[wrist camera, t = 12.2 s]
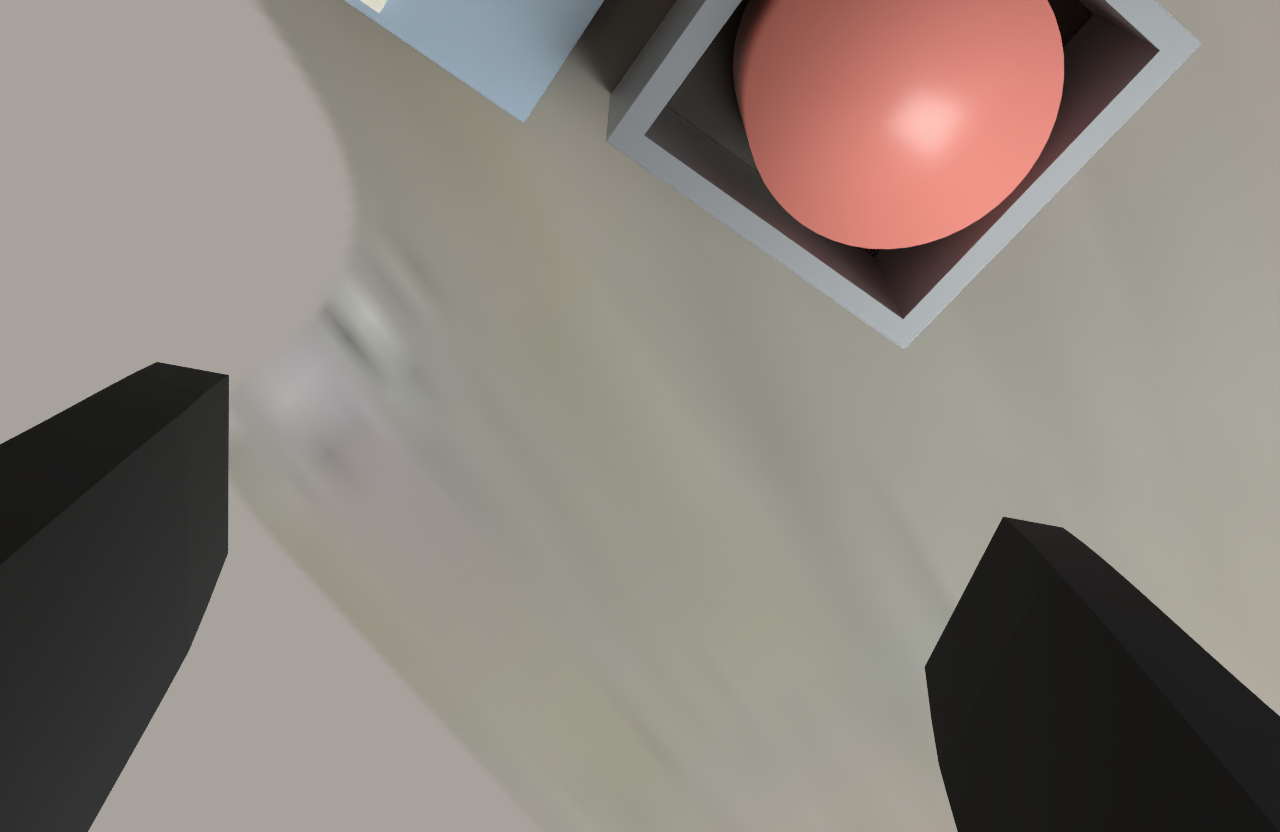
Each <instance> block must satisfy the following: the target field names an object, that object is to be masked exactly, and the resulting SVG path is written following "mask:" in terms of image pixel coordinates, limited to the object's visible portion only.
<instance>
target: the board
mask: <svg viewBox="0 0 1280 832" xmlns="http://www.w3.org/2000/svg"><path fill="white" fill-rule="evenodd" d="M344 1H346V2H347V3H349V4H350V5H352V6H353V7H355V8H356V9H358V10H359V11H361V12H362V13H363V14H365V15H366V16H368V17H369V18H371V19H372V20H374V21H375V22H377V23H378V24H380V25H381V26H383V27H384V28H385V29H387V30H388V31H390V32H391V33H393V34H394V35H396V36H397V37H399V38H400V39H402V40H403V41H404V42H406V43H407V44H409V45H410V46H412V47H413V48H415V49H416V50H418V51H419V52H421V53H422V54H423V55H425V56H426V57H428V58H429V59H431V60H432V61H434V62H435V63H437V64H438V65H440V66H441V67H442V68H444V69H445V70H447V71H448V72H450V73H451V74H453V75H454V76H456V77H457V78H459V79H460V80H461V81H463V82H464V83H466V84H467V85H469V86H470V87H472V88H473V89H475V90H476V91H478V92H479V93H481V94H482V95H483V96H485V97H486V98H488V99H489V100H491V101H492V102H494V103H495V104H497V105H498V106H500V107H501V108H502V109H504V110H505V111H507V112H508V113H510V114H511V115H513V116H514V117H516V118H517V119H519V120H520V121H521V122H523V123H524V122H525V120H526V119H527V117H528V116H529V114H530V113H531V111H532V110H533V108H534V107H535V105H536V103H537V102H538V100H539V99H540V97H541V96H542V94H543V93H544V91H545V90H546V88H547V87H548V85H549V84H550V82H551V81H552V79H553V78H554V76H555V75H556V73H557V71H558V70H559V68H560V67H561V65H562V64H563V62H564V61H565V59H566V58H567V56H568V55H569V53H570V52H571V50H572V49H573V47H574V46H575V44H576V43H577V41H578V39H579V38H580V36H581V35H582V33H583V32H584V30H585V29H586V27H587V26H588V24H589V23H590V21H591V20H592V18H593V17H594V15H595V14H596V12H597V11H598V9H599V7H600V6H601V4H602V3H603V1H604V0H344Z"/></svg>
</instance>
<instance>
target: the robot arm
mask: <svg viewBox="0 0 1280 832" xmlns="http://www.w3.org/2000/svg"><path fill="white" fill-rule="evenodd" d="M228 434H229V375H225V374H219V373H214V372H209V371H203V370H198V369H192V368H187V367H181V366H176V365H170V364H165V363H159V362H156V363H154V364H152V365H150V366H148V367H146V368H144V369H141V370H139V371H137V372H135V373H134V374H132V375H129V376H127V377H126V378H124V379H122V380H120V381H118V382H116V383H114V384H112V385H110V386H109V387H107V388H105V389H103V390H101V391H99V392H97V393H96V394H94V395H92V396H90V397H88V398H86V399H85V400H83V401H81V402H79V403H77V404H75V405H73V406H72V407H70V408H68V409H66V410H65V411H63V412H61V413H59V414H57V415H55V416H53V417H51V418H50V419H48V420H46V421H44V422H42V423H40V424H38V425H36V426H35V427H33V428H31V429H29V430H27V431H25V432H23V433H21V434H19V435H18V436H15V437H14V438H12V439H10V440H8V441H6V442H4V443H2V444H0V832H88V830H89V829H90V827H91V825H92V823H93V822H94V820H95V818H96V816H97V814H98V813H99V811H100V809H101V807H102V806H103V804H104V802H105V800H106V799H107V797H108V795H109V793H110V791H111V790H112V788H113V786H114V784H115V783H116V780H117V779H118V777H119V775H120V773H121V772H122V770H123V768H124V767H125V765H126V763H127V761H128V759H129V758H130V756H131V754H132V752H133V751H134V749H135V747H136V745H137V744H138V742H139V740H140V738H141V736H142V735H143V733H144V731H145V729H146V728H147V726H148V724H149V722H150V720H151V718H152V717H153V715H154V713H155V711H156V709H157V708H158V706H159V704H160V702H161V701H162V699H163V697H164V695H165V693H166V692H167V690H168V688H169V686H170V684H171V683H172V680H173V679H174V677H175V675H176V673H177V672H178V670H179V668H180V666H181V664H182V662H183V660H184V659H185V657H186V655H187V653H188V651H189V649H190V647H191V644H192V642H193V639H194V637H195V635H196V632H197V630H198V627H199V625H200V623H201V620H202V618H203V615H204V613H205V611H206V608H207V606H208V603H209V601H210V598H211V595H212V593H213V590H214V588H215V585H216V582H217V580H218V577H219V575H220V572H221V569H222V567H223V564H224V562H225V559H226V557H227V554H228ZM925 672H926V680H927V688H928V696H929V703H930V711H931V719H932V725H933V731H934V737H935V743H936V749H937V755H938V761H939V766H940V770H941V774H942V777H943V781H944V785H945V788H946V792H947V796H948V799H949V803H950V806H951V810H952V813H953V817H954V820H955V824H956V827H957V831H958V832H1280V716H1279V715H1278V714H1276V713H1275V712H1274V711H1273V710H1272V709H1271V708H1269V707H1268V706H1267V705H1266V704H1265V703H1264V702H1263V701H1261V700H1260V699H1259V698H1258V697H1257V696H1256V695H1255V694H1254V693H1252V692H1251V691H1250V690H1249V689H1248V688H1247V687H1246V686H1244V685H1243V684H1242V683H1241V682H1240V681H1239V680H1238V679H1237V678H1235V677H1234V676H1233V675H1232V674H1231V673H1230V672H1229V671H1228V670H1227V669H1225V668H1224V667H1223V666H1222V665H1221V664H1220V663H1219V662H1218V661H1216V660H1215V659H1214V658H1213V657H1212V656H1211V655H1210V654H1209V653H1208V652H1206V651H1205V650H1204V649H1203V648H1202V647H1201V646H1200V645H1199V644H1198V643H1196V642H1195V641H1194V640H1193V639H1192V638H1191V637H1190V636H1189V635H1188V634H1187V633H1185V632H1184V631H1183V630H1182V629H1181V628H1180V627H1179V626H1178V625H1177V624H1175V623H1174V622H1173V621H1172V620H1171V619H1170V618H1169V617H1168V616H1167V615H1165V614H1164V613H1163V612H1162V611H1161V610H1160V609H1159V608H1158V607H1157V606H1156V605H1154V604H1153V603H1152V602H1151V601H1150V600H1149V599H1148V598H1147V597H1146V596H1144V595H1143V594H1142V593H1141V592H1140V591H1139V590H1138V589H1137V588H1136V587H1134V586H1133V585H1132V584H1131V583H1130V582H1129V581H1128V580H1126V579H1125V578H1124V577H1123V576H1122V575H1121V574H1120V573H1118V572H1117V571H1116V570H1115V569H1114V568H1113V567H1112V566H1110V565H1109V564H1108V563H1107V562H1106V561H1105V560H1103V559H1102V558H1101V557H1100V556H1099V555H1097V554H1096V553H1095V552H1094V551H1093V550H1091V549H1090V548H1089V547H1088V546H1086V545H1085V544H1084V543H1083V542H1081V541H1080V540H1079V539H1077V538H1076V537H1075V536H1073V535H1072V534H1071V533H1069V532H1068V531H1067V530H1065V529H1064V528H1062V527H1056V526H1051V525H1045V524H1040V523H1034V522H1029V521H1023V520H1018V519H1012V518H1007V517H1003V518H1002V520H1001V522H1000V524H999V526H998V528H997V530H996V532H995V533H994V535H993V537H992V539H991V541H990V543H989V545H988V547H987V549H986V551H985V553H984V555H983V556H982V558H981V560H980V562H979V564H978V566H977V568H976V570H975V572H974V574H973V576H972V577H971V579H970V581H969V583H968V585H967V587H966V589H965V591H964V593H963V595H962V597H961V599H960V600H959V602H958V604H957V606H956V608H955V610H954V612H953V614H952V616H951V618H950V620H949V622H948V623H947V625H946V627H945V629H944V631H943V633H942V635H941V637H940V639H939V641H938V643H937V645H936V646H935V648H934V650H933V652H932V654H931V656H930V658H929V660H928V662H927V664H926V666H925Z"/></svg>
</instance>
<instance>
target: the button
mask: <svg viewBox="0 0 1280 832" xmlns="http://www.w3.org/2000/svg"><path fill="white" fill-rule="evenodd" d="M733 77H734V87H735V93H736V98H737V103H738V107H739V110H740V114H741V117H742V121H743V124H744V128H745V131H746V135H747V138H748V142H749V145H750V149H751V152H752V155H753V158H754V161H755V164H756V167H757V169H758V171H759V173H760V175H761V177H762V179H763V181H764V183H765V185H766V186H767V188H768V189H769V191H770V192H771V194H772V195H773V197H774V198H775V199H776V200H777V202H778V203H779V204H780V205H781V206H782V207H783V208H784V209H785V210H786V211H787V212H788V213H789V214H790V215H791V216H792V217H794V218H795V219H796V220H797V221H798V222H800V223H801V224H802V225H804V226H806V227H807V228H809V229H810V230H812V231H814V232H815V233H817V234H819V235H822V236H824V237H826V238H828V239H831V240H833V241H836V242H840V243H843V244H846V245H850V246H856V247H862V248H868V249H896V248H907V247H912V246H916V245H921V244H926V243H929V242H932V241H935V240H938V239H941V238H944V237H947V236H949V235H951V234H953V233H955V232H957V231H960V230H962V229H964V228H966V227H967V226H969V225H971V224H972V223H974V222H976V221H977V220H979V219H981V218H982V217H983V216H985V215H986V214H987V213H989V212H990V211H991V210H993V209H994V208H995V207H996V206H998V205H999V204H1000V203H1001V202H1002V201H1003V200H1004V199H1005V198H1006V197H1007V196H1008V195H1009V194H1010V193H1012V192H1013V191H1014V189H1015V188H1016V187H1017V186H1018V185H1019V184H1020V182H1021V181H1022V180H1023V179H1024V178H1025V176H1026V175H1027V174H1028V172H1029V171H1030V169H1031V168H1032V167H1033V165H1034V164H1035V162H1036V161H1037V159H1038V158H1039V156H1040V154H1041V152H1042V150H1043V148H1044V146H1045V144H1046V143H1047V141H1048V139H1049V136H1050V134H1051V131H1052V128H1053V126H1054V123H1055V121H1056V118H1057V114H1058V110H1059V106H1060V102H1061V98H1062V90H1063V82H1064V53H1063V47H1062V40H1061V34H1060V31H1059V28H1058V24H1057V21H1056V18H1055V15H1054V13H1053V11H1052V8H1051V6H1050V4H1049V2H1048V0H749V2H748V4H747V6H746V8H745V10H744V13H743V16H742V19H741V22H740V25H739V28H738V32H737V37H736V42H735V47H734V59H733Z"/></svg>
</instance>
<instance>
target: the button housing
mask: <svg viewBox="0 0 1280 832" xmlns="http://www.w3.org/2000/svg"><path fill="white" fill-rule="evenodd" d="M741 1H742V0H676V1H675V3H674V4H673V5H672V7H671V8H670V10H669V11H668V13H667V14H666V16H665V17H664V18H663V20H662V21H661V23H660V24H659V26H658V27H657V29H656V30H655V31H654V33H653V34H652V36H651V37H650V39H649V40H648V42H647V43H646V45H645V46H644V47H643V49H642V50H641V52H640V53H639V55H638V56H637V58H636V59H635V60H634V62H633V63H632V65H631V66H630V68H629V69H628V71H627V72H626V73H625V75H624V76H623V78H622V79H621V81H620V82H619V84H618V85H617V86H616V88H615V89H614V91H613V92H612V94H611V95H610V105H609V116H608V127H607V138H606V142H607V143H609V144H610V145H612V146H613V147H615V148H616V149H618V150H619V151H620V152H622V153H623V154H625V155H626V156H628V157H629V158H630V159H632V160H633V161H635V162H636V163H638V164H639V165H640V166H642V167H643V168H645V169H646V170H648V171H649V172H650V173H652V174H653V175H655V176H656V177H658V178H659V179H661V180H662V181H663V182H665V183H666V184H668V185H669V186H671V187H672V188H673V189H675V190H676V191H678V192H679V193H681V194H682V195H683V196H685V197H686V198H688V199H689V200H691V201H692V202H693V203H695V204H696V205H698V206H699V207H701V208H702V209H704V210H705V211H706V212H708V213H709V214H711V215H712V216H714V217H715V218H716V219H718V220H719V221H721V222H722V223H724V224H725V225H726V226H728V227H729V228H731V229H732V230H734V231H735V232H736V233H738V234H739V235H741V236H742V237H744V238H745V239H747V240H748V241H749V242H751V243H752V244H754V245H755V246H757V247H758V248H759V249H761V250H762V251H764V252H765V253H767V254H768V255H769V256H771V257H772V258H774V259H775V260H777V261H778V262H779V263H781V264H782V265H784V266H785V267H787V268H788V269H790V270H791V271H792V272H794V273H795V274H797V275H798V276H800V277H801V278H802V279H804V280H805V281H807V282H808V283H810V284H811V285H812V286H814V287H815V288H817V289H818V290H820V291H821V292H822V293H824V294H825V295H827V296H828V297H830V298H831V299H832V300H834V301H835V302H837V303H838V304H840V305H841V306H843V307H844V308H845V309H847V310H848V311H850V312H851V313H853V314H854V315H855V316H857V317H858V318H860V319H861V320H863V321H864V322H865V323H867V324H868V325H870V326H871V327H873V328H874V329H875V330H877V331H878V332H880V333H881V334H883V335H884V336H886V337H887V338H888V339H890V340H891V341H893V342H894V343H896V344H897V345H898V346H900V347H901V348H903V349H905V348H906V347H907V346H908V345H909V344H910V343H911V342H912V341H913V340H914V339H915V338H916V337H917V336H918V335H919V334H920V333H921V332H922V331H923V330H924V329H925V328H926V327H927V325H928V324H929V323H930V322H931V321H932V320H933V319H934V318H935V317H936V316H937V315H938V314H939V313H940V312H941V311H942V310H943V309H944V308H945V307H946V306H947V305H948V304H949V303H950V302H951V301H952V300H953V299H954V298H955V297H956V296H957V295H958V294H959V293H960V292H961V291H962V290H963V289H964V287H965V286H966V285H967V284H968V283H969V282H970V281H971V280H972V279H973V278H974V277H975V276H976V275H977V274H978V273H979V272H980V271H981V270H982V269H983V268H984V267H985V266H986V265H987V264H988V263H989V262H990V261H991V260H992V259H993V258H994V257H995V256H996V255H997V254H998V253H999V252H1000V251H1001V249H1002V248H1003V247H1004V246H1005V245H1006V244H1007V243H1008V242H1009V241H1010V240H1011V239H1012V238H1013V237H1014V236H1015V235H1016V234H1017V233H1018V232H1019V231H1020V230H1021V229H1022V228H1023V227H1024V226H1025V225H1026V224H1027V223H1028V222H1029V221H1030V220H1031V219H1032V218H1033V217H1034V216H1035V215H1036V214H1037V213H1038V211H1039V210H1040V209H1041V208H1042V207H1043V206H1044V205H1045V204H1046V203H1047V202H1048V201H1049V200H1050V199H1051V198H1052V197H1053V196H1054V195H1055V194H1056V193H1057V192H1058V191H1059V190H1060V189H1061V188H1062V187H1063V186H1064V185H1065V184H1066V183H1067V182H1068V181H1069V180H1070V179H1071V178H1072V177H1073V176H1074V175H1075V173H1076V172H1077V171H1078V170H1079V169H1080V168H1081V167H1082V166H1083V165H1084V164H1085V163H1086V162H1087V161H1088V160H1089V159H1090V158H1091V157H1092V156H1093V155H1094V154H1095V153H1096V152H1097V151H1098V150H1099V149H1100V148H1101V147H1102V146H1103V145H1104V144H1105V143H1106V142H1107V141H1108V140H1109V139H1110V138H1111V137H1112V135H1113V134H1114V133H1115V132H1116V131H1117V130H1118V129H1119V128H1120V127H1121V126H1122V125H1123V124H1124V123H1125V122H1126V121H1127V120H1128V119H1129V118H1130V117H1131V116H1132V115H1133V114H1134V113H1135V112H1136V111H1137V110H1138V109H1139V108H1140V107H1141V106H1142V105H1143V104H1144V103H1145V102H1146V101H1147V100H1148V99H1149V97H1150V96H1151V95H1152V94H1153V93H1154V92H1155V91H1156V90H1157V89H1158V88H1159V87H1160V86H1161V85H1162V84H1163V83H1164V82H1165V81H1166V80H1167V79H1168V78H1169V77H1170V76H1171V75H1172V74H1173V73H1174V72H1175V71H1176V70H1177V69H1178V68H1179V67H1180V66H1181V65H1182V64H1183V63H1184V62H1185V61H1186V59H1187V58H1188V57H1189V56H1190V55H1191V54H1192V53H1193V52H1194V51H1195V50H1196V49H1197V48H1198V47H1199V46H1200V45H1201V43H1200V42H1199V41H1198V40H1197V39H1196V38H1195V37H1194V36H1193V35H1192V34H1191V33H1190V32H1189V31H1188V30H1186V29H1185V28H1184V27H1183V26H1182V25H1181V24H1180V23H1179V22H1178V21H1177V20H1176V19H1175V18H1174V17H1173V16H1172V15H1171V14H1169V13H1168V12H1167V11H1166V10H1165V9H1164V8H1163V7H1162V6H1161V5H1160V4H1159V3H1158V2H1157V1H1156V0H1079V1H1080V2H1081V3H1082V4H1083V5H1084V6H1085V7H1087V8H1088V9H1089V10H1090V11H1091V12H1092V13H1093V15H1092V16H1091V18H1090V19H1089V20H1088V21H1087V22H1086V23H1085V24H1084V25H1083V26H1082V27H1081V29H1080V30H1079V31H1078V32H1077V33H1076V34H1075V35H1074V36H1073V37H1072V39H1071V40H1070V41H1069V42H1068V43H1067V44H1066V45H1065V46H1064V47H1063V53H1064V82H1063V90H1062V98H1061V102H1060V106H1059V110H1058V114H1057V118H1056V121H1055V123H1054V126H1053V128H1052V131H1051V134H1050V136H1049V139H1048V141H1047V143H1046V144H1045V146H1044V148H1043V150H1042V152H1041V154H1040V156H1039V158H1038V159H1037V161H1036V162H1035V164H1034V165H1033V167H1032V168H1031V169H1030V171H1029V172H1028V174H1027V175H1026V176H1025V178H1024V179H1023V180H1022V181H1021V182H1020V184H1019V185H1018V186H1017V187H1016V188H1015V189H1014V191H1013V192H1012V193H1010V194H1009V195H1008V196H1007V197H1006V198H1005V199H1004V200H1003V201H1002V202H1001V203H1000V204H999V205H998V206H996V207H995V208H994V209H993V210H991V211H990V212H989V213H987V214H986V215H985V216H983V217H982V218H981V219H979V220H977V221H976V222H974V223H972V224H971V225H969V226H967V227H966V228H964V229H962V230H960V231H957V232H955V233H953V234H951V235H949V236H947V237H944V238H941V239H938V240H935V241H932V242H929V243H926V244H921V245H916V246H912V247H907V248H896V249H881V250H880V251H879V252H878V253H877V254H876V255H875V256H874V257H873V256H872V255H870V254H869V253H868V252H866V251H865V250H864V249H862V248H861V247H856V246H850V245H846V244H843V243H840V242H836V241H833V240H831V239H828V238H826V237H824V236H822V235H819V234H817V233H815V232H814V231H812V230H810V229H809V228H807V227H806V226H804V225H802V224H801V223H800V222H798V221H797V220H796V219H795V218H794V217H792V216H791V215H790V214H789V213H788V212H787V211H786V210H785V209H784V208H783V207H782V206H781V205H780V204H779V203H778V202H777V200H776V199H775V198H774V197H773V195H772V194H771V192H770V191H769V189H768V188H767V186H766V185H765V183H764V181H763V179H762V177H761V175H760V174H759V173H758V172H756V171H755V170H753V169H752V168H751V167H749V166H748V165H747V164H745V163H744V162H742V161H741V160H740V159H738V158H737V157H736V156H734V155H733V154H731V153H730V152H729V151H727V150H726V149H725V148H723V147H722V146H720V145H719V144H718V143H716V142H715V141H714V140H712V139H711V138H709V137H708V136H707V135H705V134H704V133H703V132H701V131H700V130H698V129H697V128H696V127H694V126H693V125H692V124H690V123H689V122H687V121H686V120H685V119H683V118H682V117H681V116H679V115H678V114H676V113H675V112H674V111H672V110H671V109H670V108H668V107H667V106H666V104H667V103H668V102H669V100H670V99H671V97H672V96H673V95H674V93H675V92H676V90H677V89H678V88H679V86H680V85H681V84H682V82H683V81H684V79H685V78H686V77H687V75H688V74H689V73H690V71H691V70H692V68H693V67H694V66H695V64H696V63H697V62H698V60H699V59H700V57H701V56H702V55H703V53H704V52H705V50H706V49H707V48H708V46H709V45H710V44H711V42H712V41H713V39H714V38H715V37H716V35H717V34H718V33H719V31H720V30H721V28H722V27H723V26H724V24H725V23H726V21H727V20H728V19H729V17H730V16H731V15H732V13H733V12H734V10H735V9H736V8H737V6H738V5H739V4H740V2H741Z"/></svg>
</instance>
